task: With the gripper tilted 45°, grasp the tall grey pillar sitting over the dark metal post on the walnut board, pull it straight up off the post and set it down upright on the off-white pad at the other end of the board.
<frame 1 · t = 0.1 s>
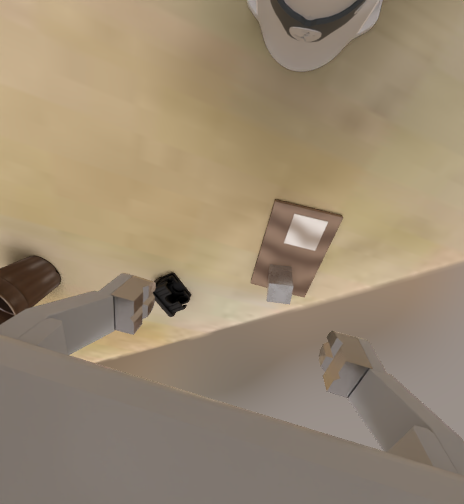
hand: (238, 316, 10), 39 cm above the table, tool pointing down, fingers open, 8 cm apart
end cap: (174, 287, 63), on the table
tall grey pillar: (279, 273, 52), point 1 cm above the table, touching walnut board
walnut board: (290, 251, 51), on the table
plant pot: (44, 270, 70), on the table
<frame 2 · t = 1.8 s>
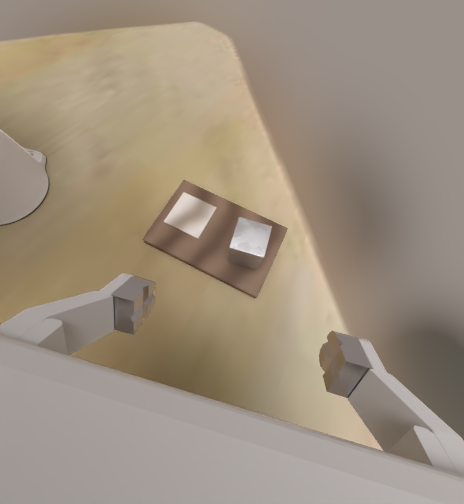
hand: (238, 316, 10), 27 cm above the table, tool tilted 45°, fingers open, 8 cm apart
tall grey pillar: (245, 253, 38), point 1 cm above the table, touching walnut board
walnut board: (217, 236, 40), on the table
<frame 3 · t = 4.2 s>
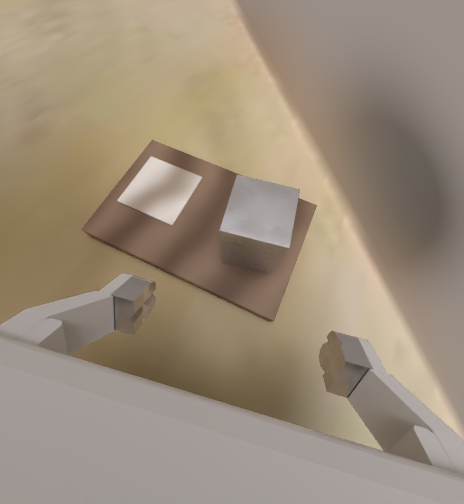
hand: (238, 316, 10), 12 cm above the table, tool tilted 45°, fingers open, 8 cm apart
tall grey pillar: (250, 246, 23), point 1 cm above the table, touching walnut board
walnut board: (205, 223, 25), on the table
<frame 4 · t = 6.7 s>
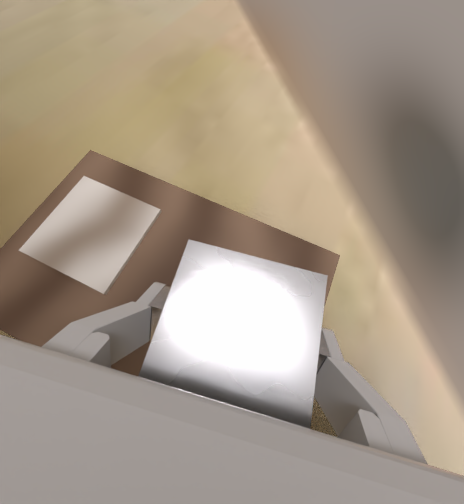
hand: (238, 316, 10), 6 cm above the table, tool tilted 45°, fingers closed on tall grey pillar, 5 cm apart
tall grey pillar: (231, 330, 14), point 1 cm above the table, touching gripper, walnut board
walnut board: (164, 281, 16), on the table
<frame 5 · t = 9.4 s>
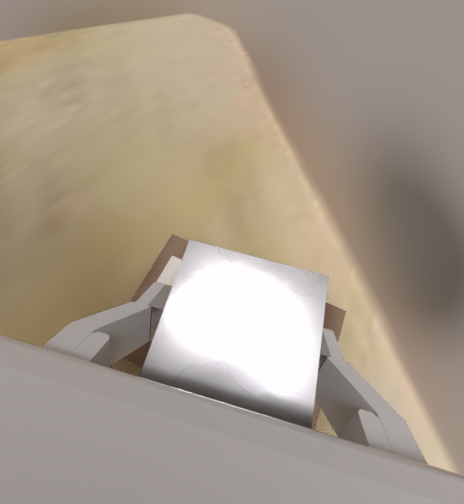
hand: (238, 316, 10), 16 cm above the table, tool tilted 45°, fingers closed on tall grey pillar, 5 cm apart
tall grey pillar: (232, 330, 14), point 11 cm above the table, touching gripper
walnut board: (228, 328, 24), on the table
when the fingers open (8 cm above the table, at t = 12.0 s): tall grey pillar drops 2 cm, resting on walnut board.
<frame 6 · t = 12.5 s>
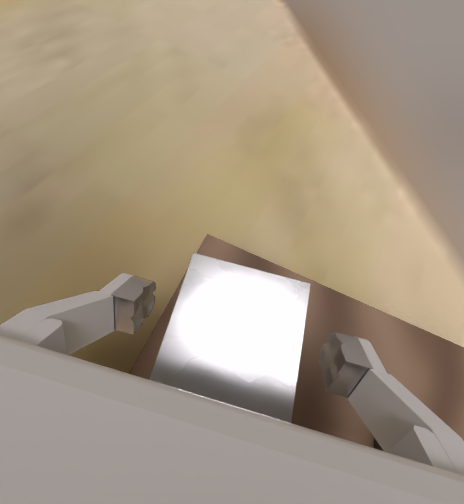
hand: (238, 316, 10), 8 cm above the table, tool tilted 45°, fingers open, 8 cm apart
tall grey pillar: (230, 330, 15), point 2 cm above the table, touching walnut board
walnut board: (299, 380, 16), on the table
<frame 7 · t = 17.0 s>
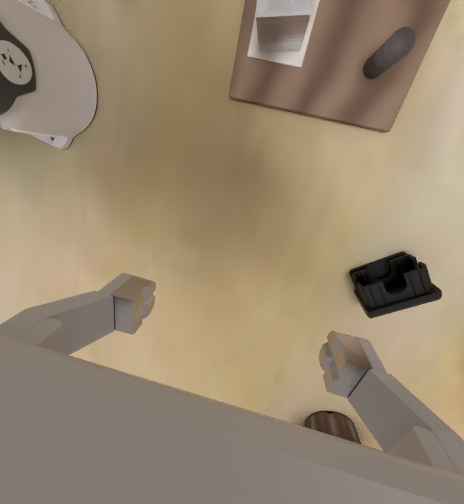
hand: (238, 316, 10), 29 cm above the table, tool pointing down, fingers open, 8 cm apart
end cap: (380, 276, 38), on the table
tall grey pillar: (282, 24, 26), point 2 cm above the table, touching walnut board
walnut board: (325, 52, 27), on the table
plant pot: (327, 424, 57), on the table
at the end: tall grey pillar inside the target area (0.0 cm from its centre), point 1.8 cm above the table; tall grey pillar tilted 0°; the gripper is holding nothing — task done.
